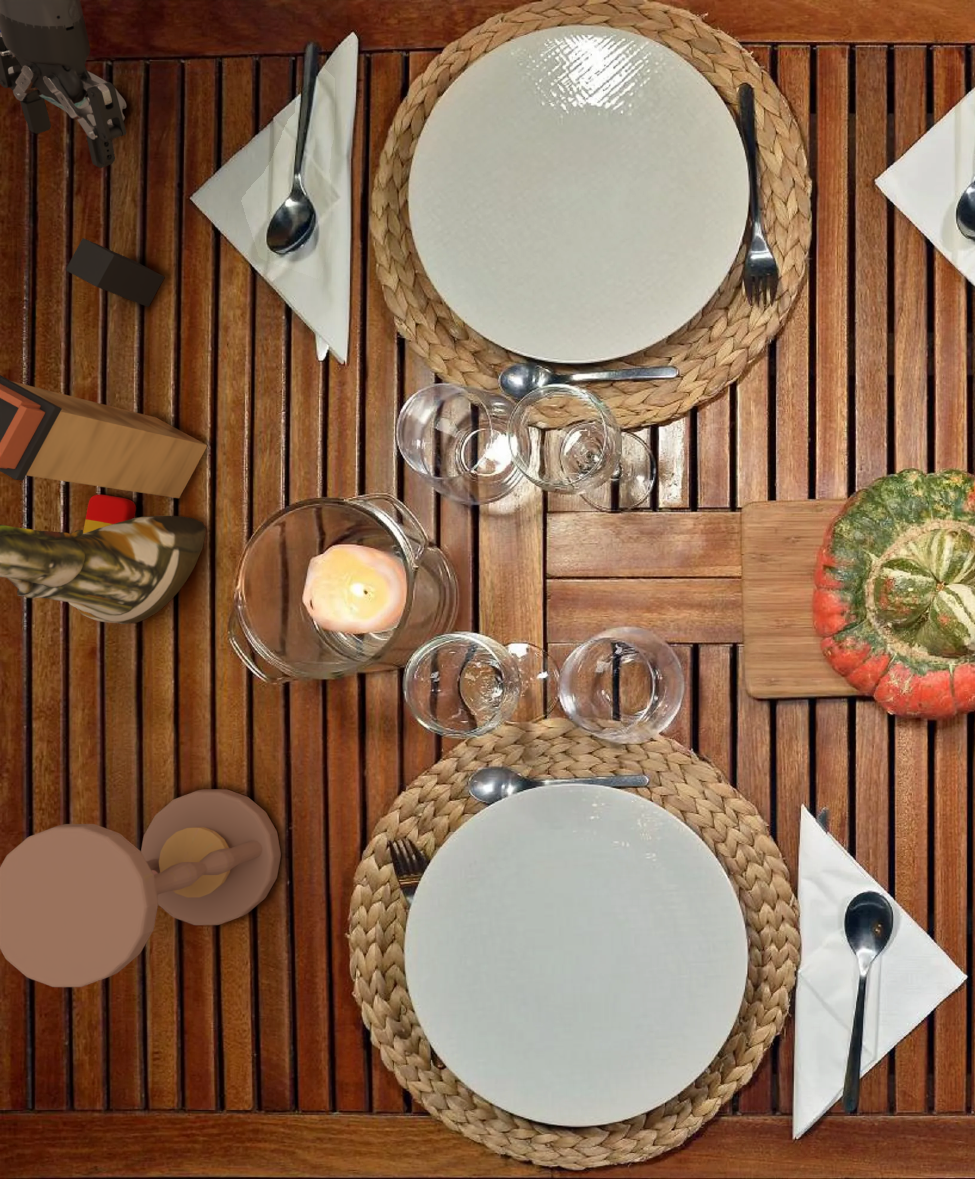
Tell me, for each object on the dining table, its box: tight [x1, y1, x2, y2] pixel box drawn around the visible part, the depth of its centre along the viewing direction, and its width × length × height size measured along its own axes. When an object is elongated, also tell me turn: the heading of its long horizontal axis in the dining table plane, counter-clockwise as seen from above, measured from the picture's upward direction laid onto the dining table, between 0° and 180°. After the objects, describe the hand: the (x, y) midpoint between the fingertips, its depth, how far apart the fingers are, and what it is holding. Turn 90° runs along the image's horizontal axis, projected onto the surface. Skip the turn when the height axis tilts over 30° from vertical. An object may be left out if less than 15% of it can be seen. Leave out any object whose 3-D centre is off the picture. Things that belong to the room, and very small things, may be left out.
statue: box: [0, 514, 207, 625], centre depth 124 cm, size 16×11×35 cm, turn 142°
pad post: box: [65, 237, 165, 308], centre depth 138 cm, size 5×5×9 cm
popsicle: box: [82, 493, 137, 533], centre depth 141 cm, size 6×15×2 cm, turn 170°
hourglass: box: [0, 788, 282, 988], centre depth 128 cm, size 18×18×25 cm
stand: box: [11, 380, 208, 499], centre depth 130 cm, size 8×8×25 cm
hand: (72, 147), depth 124 cm, fingers open, 8 cm apart
